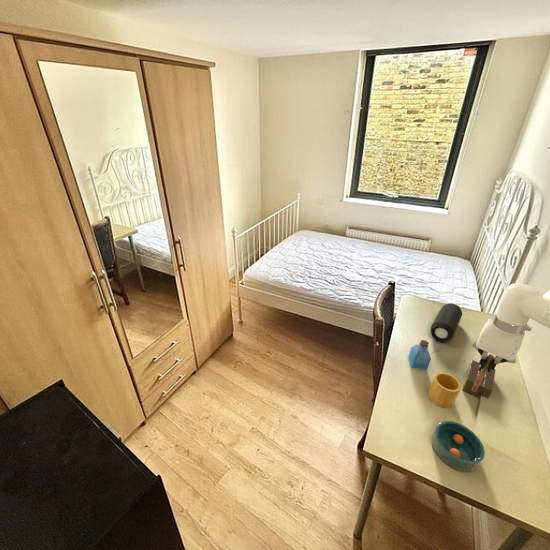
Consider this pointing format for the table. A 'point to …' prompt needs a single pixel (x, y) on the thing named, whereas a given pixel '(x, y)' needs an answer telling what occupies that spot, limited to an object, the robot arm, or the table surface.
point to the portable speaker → (446, 322)
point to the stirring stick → (482, 373)
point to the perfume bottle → (420, 355)
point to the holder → (486, 383)
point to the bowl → (458, 446)
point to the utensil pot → (444, 390)
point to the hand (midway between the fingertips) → (485, 367)
